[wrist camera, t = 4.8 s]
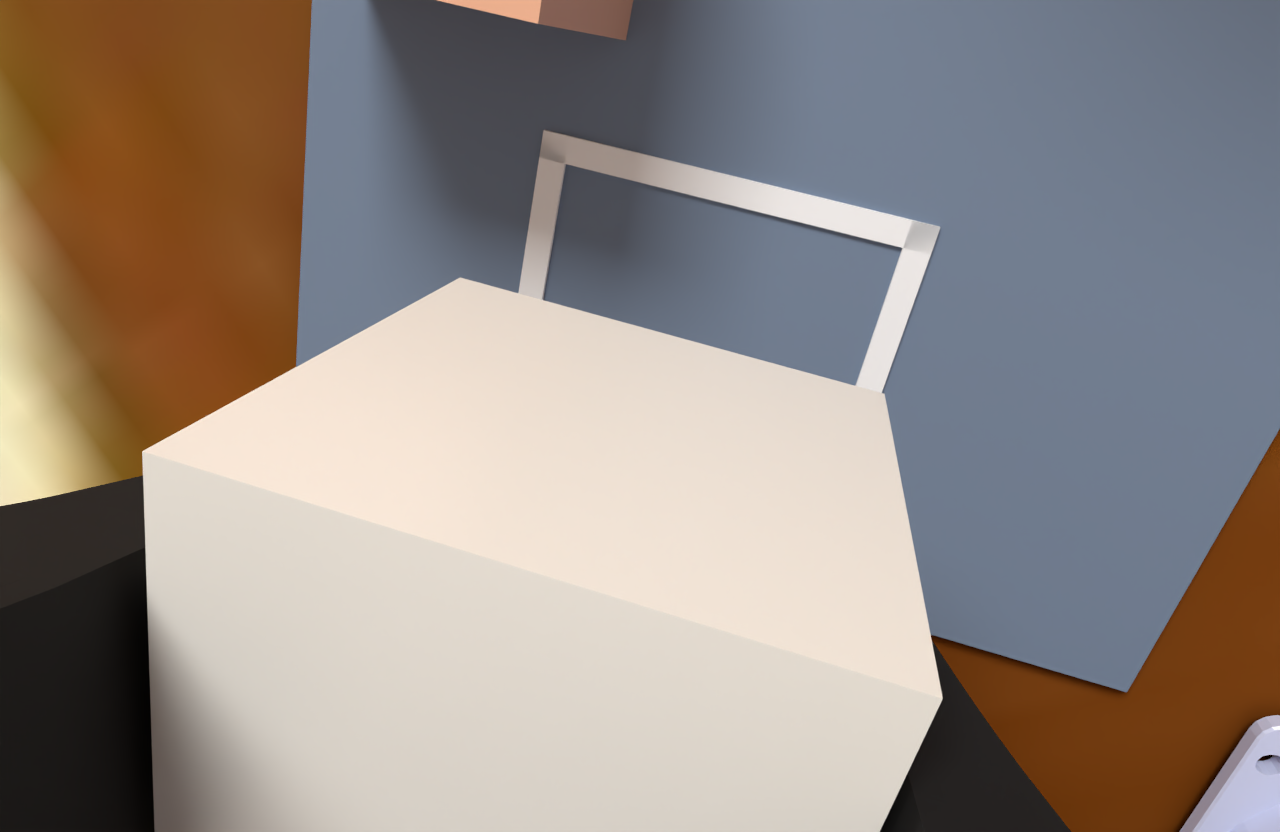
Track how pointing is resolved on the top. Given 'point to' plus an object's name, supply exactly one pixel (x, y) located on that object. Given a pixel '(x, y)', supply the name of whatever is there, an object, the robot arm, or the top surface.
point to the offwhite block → (533, 588)
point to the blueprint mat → (870, 248)
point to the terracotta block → (563, 13)
